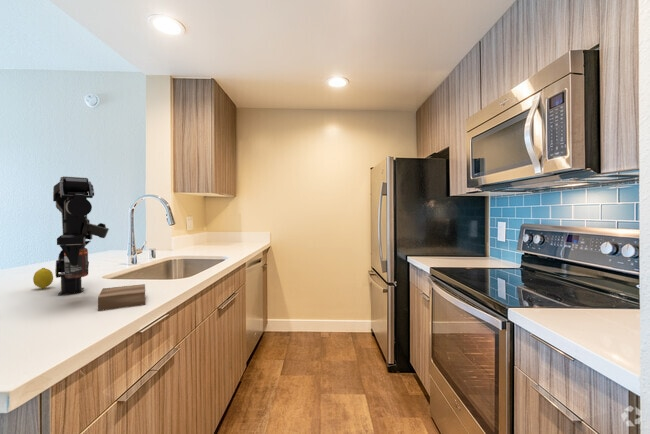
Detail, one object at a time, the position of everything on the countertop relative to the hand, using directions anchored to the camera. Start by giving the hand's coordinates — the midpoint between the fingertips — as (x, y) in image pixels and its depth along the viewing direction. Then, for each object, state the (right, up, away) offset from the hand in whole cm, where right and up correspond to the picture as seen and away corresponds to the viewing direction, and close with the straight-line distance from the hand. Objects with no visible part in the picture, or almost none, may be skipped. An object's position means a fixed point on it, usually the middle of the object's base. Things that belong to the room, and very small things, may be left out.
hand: (76, 264), depth 98 cm
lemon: (-26, -12, +16) cm, 33 cm away
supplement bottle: (0, -4, 0) cm, 4 cm away
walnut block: (+15, -12, 0) cm, 20 cm away
